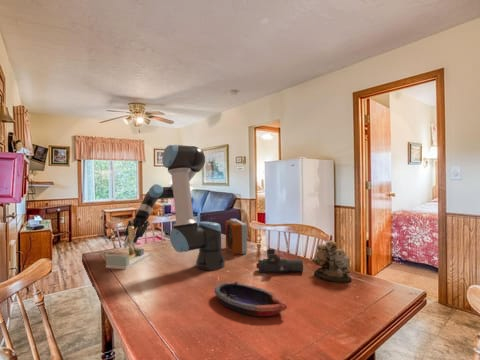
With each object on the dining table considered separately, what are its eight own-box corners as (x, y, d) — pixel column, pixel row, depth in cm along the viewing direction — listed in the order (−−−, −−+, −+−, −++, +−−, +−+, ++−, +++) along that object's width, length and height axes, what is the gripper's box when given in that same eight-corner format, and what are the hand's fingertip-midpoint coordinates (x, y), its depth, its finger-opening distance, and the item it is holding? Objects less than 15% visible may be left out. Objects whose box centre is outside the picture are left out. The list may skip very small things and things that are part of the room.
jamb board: (131, 255, 165) (130, 244, 165) (149, 256, 162) (148, 245, 162) (106, 267, 143) (105, 255, 143) (126, 269, 141) (126, 256, 141)
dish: (231, 288, 116) (230, 276, 116) (295, 310, 96) (295, 296, 96) (204, 301, 104) (203, 288, 104) (271, 330, 84) (271, 314, 84)
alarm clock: (225, 247, 180) (225, 216, 179) (238, 246, 182) (237, 216, 182) (233, 255, 162) (232, 221, 162) (247, 254, 165) (246, 220, 164)
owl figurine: (307, 277, 127) (307, 240, 127) (317, 270, 137) (316, 236, 137) (347, 285, 117) (347, 246, 117) (354, 277, 126) (354, 240, 126)
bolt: (136, 253, 162) (135, 223, 162) (140, 254, 161) (140, 223, 161) (123, 260, 150) (122, 227, 150) (128, 260, 150) (128, 227, 149)
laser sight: (304, 275, 130) (303, 254, 130) (257, 275, 130) (256, 254, 130) (299, 268, 140) (299, 249, 139) (256, 268, 140) (256, 249, 140)
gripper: (157, 217, 168) (143, 251, 152) (134, 216, 172) (117, 249, 156) (153, 209, 163) (137, 244, 147) (129, 209, 166) (111, 242, 151)
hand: (127, 246), depth 152 cm, fingers closed on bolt, 3 cm apart
